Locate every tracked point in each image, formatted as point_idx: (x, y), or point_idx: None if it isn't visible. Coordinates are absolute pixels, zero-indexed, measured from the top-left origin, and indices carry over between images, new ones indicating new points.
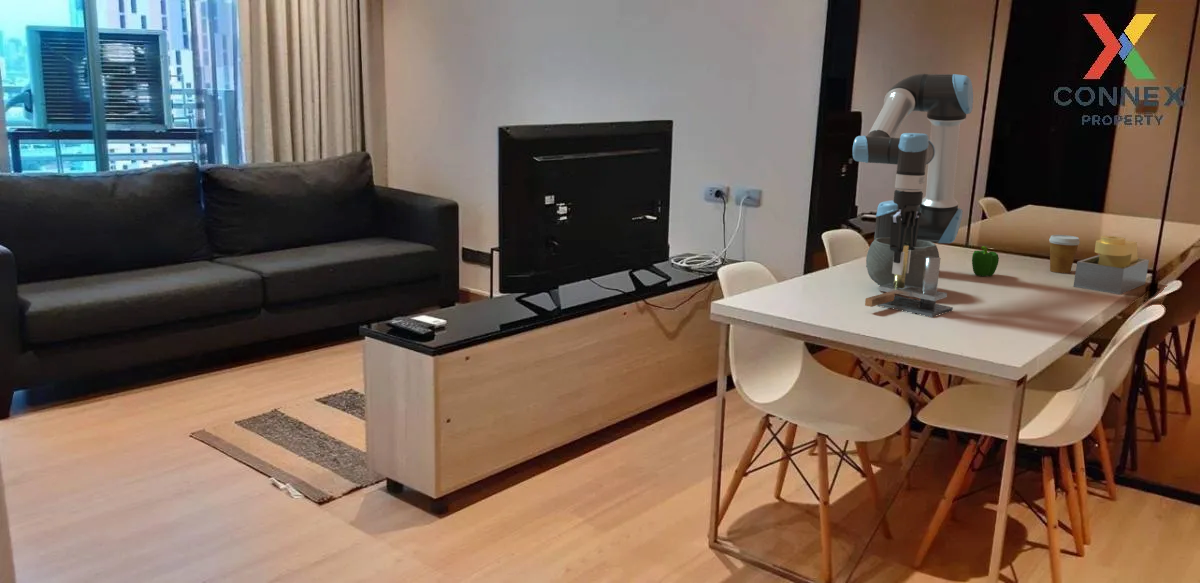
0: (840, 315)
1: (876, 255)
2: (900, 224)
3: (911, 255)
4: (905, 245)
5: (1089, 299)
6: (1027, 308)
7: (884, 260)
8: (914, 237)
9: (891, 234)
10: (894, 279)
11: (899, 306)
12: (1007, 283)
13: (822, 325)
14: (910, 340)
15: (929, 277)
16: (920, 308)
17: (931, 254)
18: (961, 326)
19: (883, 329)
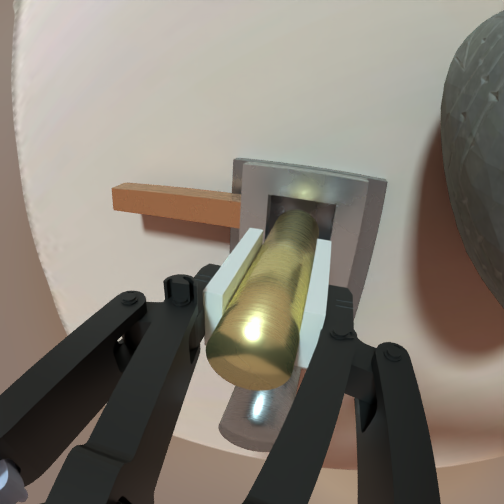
0: (80, 152)
1: (493, 52)
2: (34, 463)
3: (502, 278)
4: (248, 374)
5: None
6: (452, 422)
7: (467, 111)
8: (357, 445)
9: (50, 359)
10: (274, 226)
11: (236, 242)
12: None
13: (23, 175)
14: (72, 315)
15: None
16: None
17: None
18: (210, 374)
19: (76, 266)
